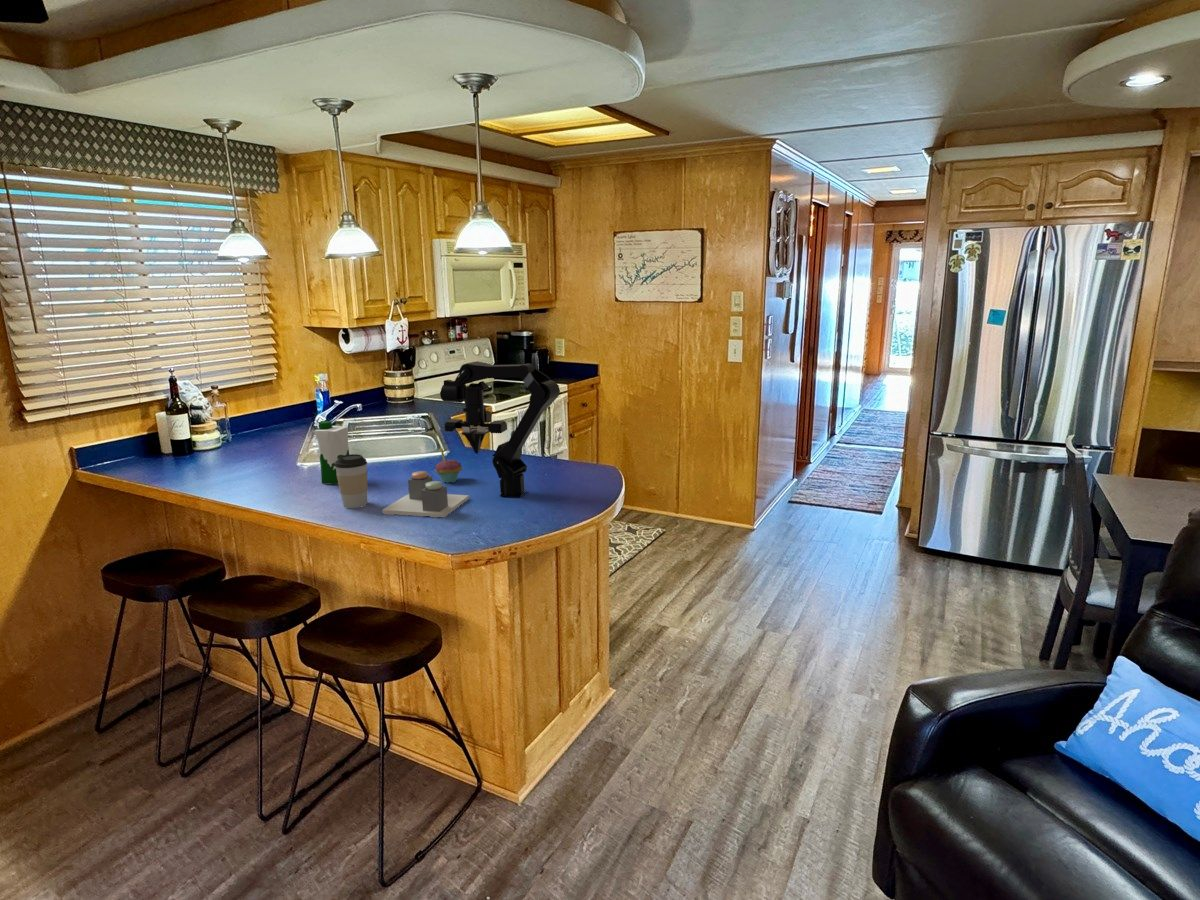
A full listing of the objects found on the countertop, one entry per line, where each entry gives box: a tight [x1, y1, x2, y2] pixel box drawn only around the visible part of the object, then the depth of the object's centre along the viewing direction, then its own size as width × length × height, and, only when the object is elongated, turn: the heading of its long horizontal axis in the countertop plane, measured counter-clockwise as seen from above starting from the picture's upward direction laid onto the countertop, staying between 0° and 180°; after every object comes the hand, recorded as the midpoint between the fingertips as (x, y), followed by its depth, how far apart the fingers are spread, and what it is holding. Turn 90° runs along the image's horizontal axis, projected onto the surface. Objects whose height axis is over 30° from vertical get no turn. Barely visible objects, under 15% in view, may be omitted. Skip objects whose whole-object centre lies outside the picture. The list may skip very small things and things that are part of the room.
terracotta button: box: [411, 470, 429, 480], centre depth 206 cm, size 5×5×7 cm
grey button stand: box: [382, 475, 470, 518], centre depth 201 cm, size 19×17×7 cm
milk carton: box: [313, 420, 350, 485], centre depth 227 cm, size 9×9×20 cm
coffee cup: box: [335, 453, 369, 509], centre depth 203 cm, size 9×9×15 cm
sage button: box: [425, 480, 443, 491], centre depth 195 cm, size 5×5×7 cm
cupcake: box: [434, 445, 463, 484], centre depth 226 cm, size 9×8×12 cm
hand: (477, 453), depth 214 cm, fingers closed
